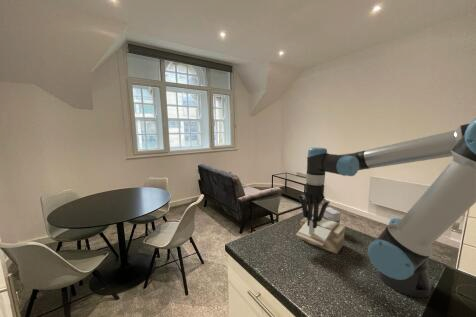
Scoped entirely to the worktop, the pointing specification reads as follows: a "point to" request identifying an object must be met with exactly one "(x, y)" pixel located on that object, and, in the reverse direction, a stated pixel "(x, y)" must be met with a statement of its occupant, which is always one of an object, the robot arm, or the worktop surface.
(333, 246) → the ticket block
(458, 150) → the robot arm
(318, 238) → the stub
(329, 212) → the ink box
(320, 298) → the worktop surface
